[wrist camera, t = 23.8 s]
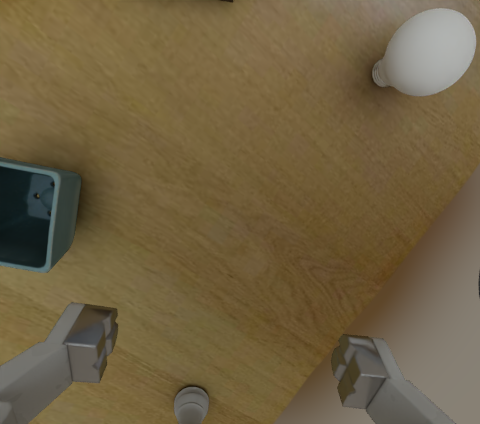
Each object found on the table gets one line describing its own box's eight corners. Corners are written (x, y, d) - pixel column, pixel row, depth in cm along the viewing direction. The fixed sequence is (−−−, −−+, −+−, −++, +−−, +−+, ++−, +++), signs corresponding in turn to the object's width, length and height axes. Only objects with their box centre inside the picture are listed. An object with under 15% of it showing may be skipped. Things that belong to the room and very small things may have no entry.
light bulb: (420, 81, 34) (513, 52, 24) (371, 119, 35) (440, 107, 24) (389, 28, 33) (474, -29, 22) (339, 68, 33) (397, 31, 23)
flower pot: (14, 148, 32) (-61, 149, 24) (100, 166, 34) (60, 173, 25) (7, 228, 34) (-64, 256, 25) (90, 242, 35) (49, 274, 26)
